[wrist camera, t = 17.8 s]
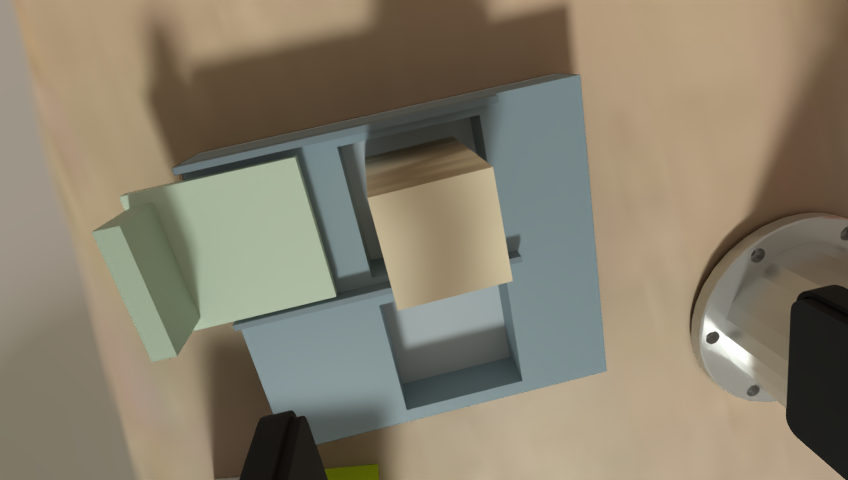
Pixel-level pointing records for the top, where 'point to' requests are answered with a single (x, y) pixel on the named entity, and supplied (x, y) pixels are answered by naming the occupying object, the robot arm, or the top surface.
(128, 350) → the top surface
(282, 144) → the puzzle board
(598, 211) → the top surface
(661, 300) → the top surface
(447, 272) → the maple block
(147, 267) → the sliding lid
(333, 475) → the puzzle toy
